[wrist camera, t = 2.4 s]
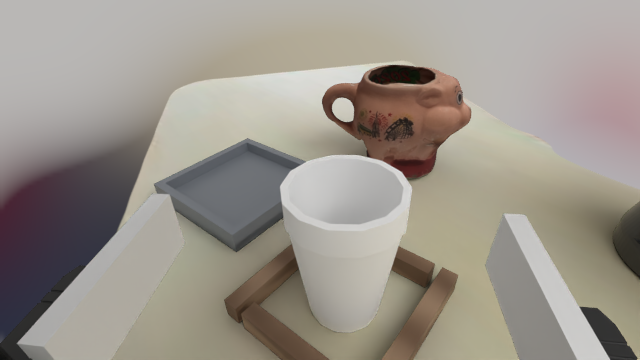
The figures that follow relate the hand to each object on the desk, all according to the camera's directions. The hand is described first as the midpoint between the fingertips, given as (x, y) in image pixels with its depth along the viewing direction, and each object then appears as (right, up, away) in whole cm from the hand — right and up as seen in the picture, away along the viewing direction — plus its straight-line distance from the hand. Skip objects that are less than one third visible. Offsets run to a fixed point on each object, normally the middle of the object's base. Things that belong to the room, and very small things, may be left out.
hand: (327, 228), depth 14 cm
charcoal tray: (-11, 0, +33) cm, 35 cm away
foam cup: (+2, -10, +18) cm, 21 cm away
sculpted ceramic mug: (+10, +4, +38) cm, 40 cm away
